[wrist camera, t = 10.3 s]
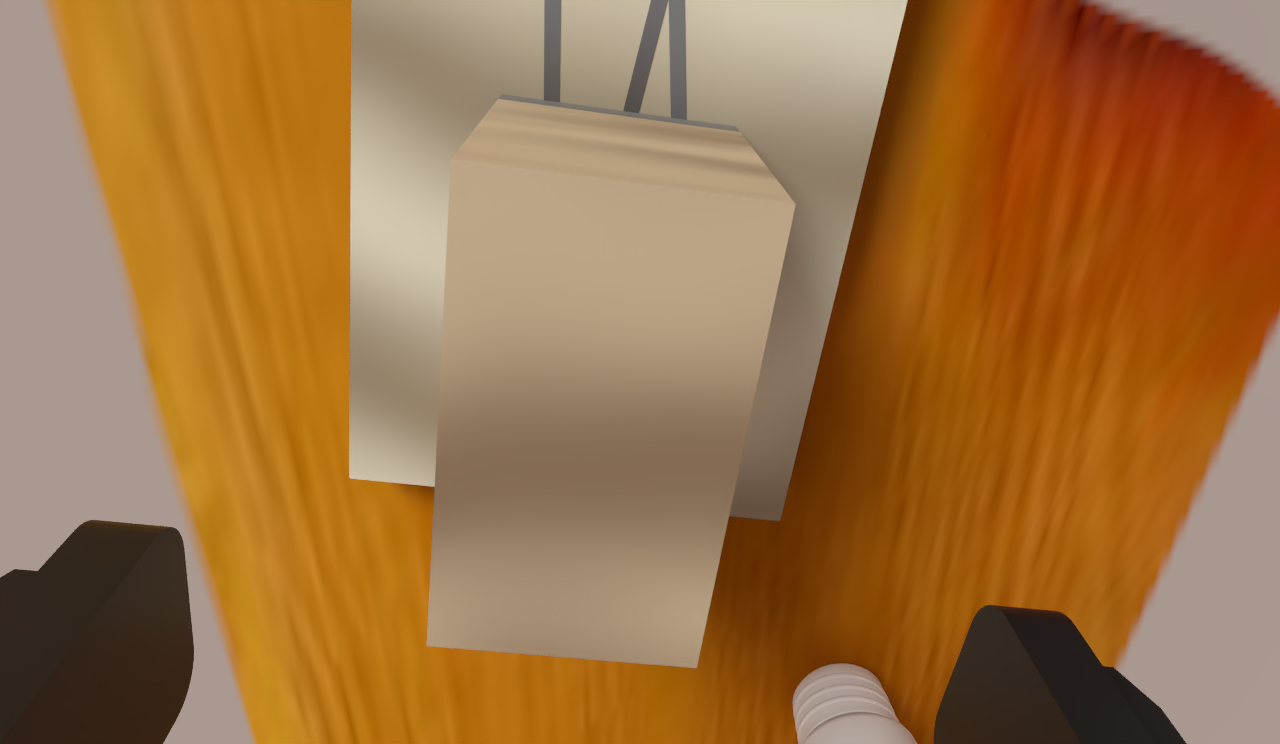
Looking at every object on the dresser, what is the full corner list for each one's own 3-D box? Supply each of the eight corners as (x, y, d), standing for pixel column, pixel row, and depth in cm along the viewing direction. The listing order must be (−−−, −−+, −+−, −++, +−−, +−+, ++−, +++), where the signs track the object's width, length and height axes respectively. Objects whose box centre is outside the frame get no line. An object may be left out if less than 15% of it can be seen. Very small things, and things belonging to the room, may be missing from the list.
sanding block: (501, 94, 17) (450, 158, 11) (735, 126, 17) (795, 204, 12) (475, 459, 20) (426, 645, 15) (673, 479, 20) (696, 667, 15)
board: (378, -539, 14) (354, -593, 13) (982, -419, 15) (1019, -457, 14) (365, 445, 22) (348, 478, 20) (769, 487, 22) (780, 521, 21)
